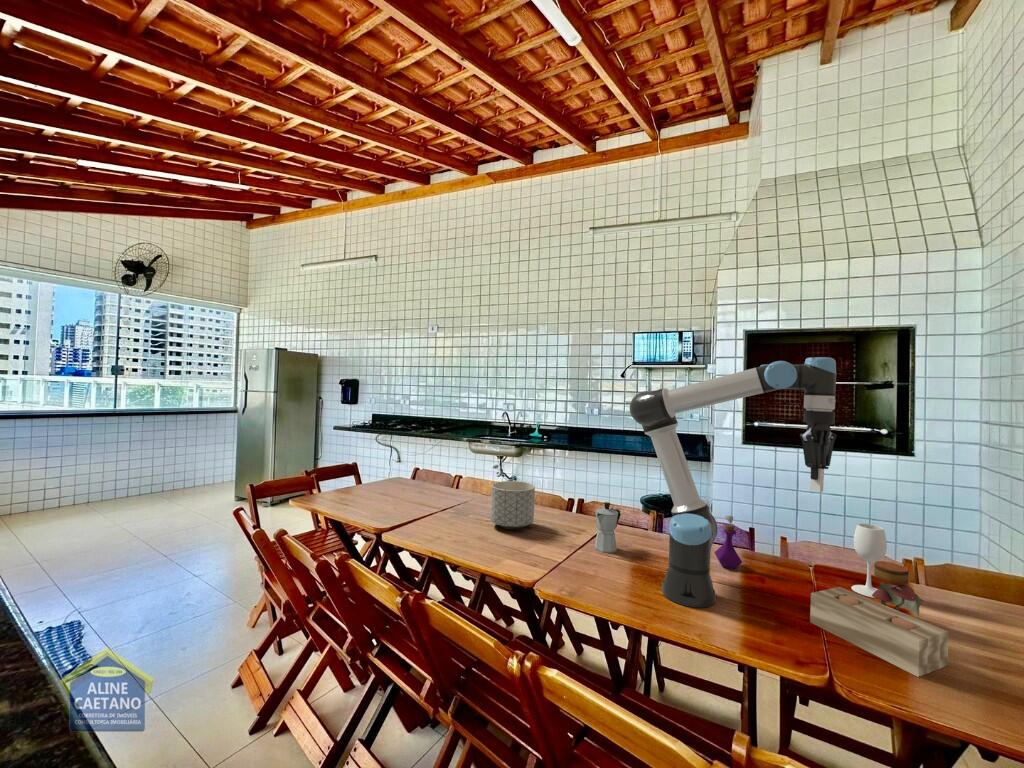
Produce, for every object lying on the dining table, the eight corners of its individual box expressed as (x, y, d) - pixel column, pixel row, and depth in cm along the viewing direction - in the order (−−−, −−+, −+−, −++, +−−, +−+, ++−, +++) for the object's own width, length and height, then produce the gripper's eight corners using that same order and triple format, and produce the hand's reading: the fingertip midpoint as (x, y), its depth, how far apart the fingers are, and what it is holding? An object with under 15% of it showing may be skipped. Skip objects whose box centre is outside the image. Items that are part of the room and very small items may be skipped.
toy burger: (908, 636, 115) (909, 579, 115) (854, 612, 126) (856, 560, 126) (932, 627, 119) (933, 572, 119) (878, 605, 131) (879, 555, 131)
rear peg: (851, 630, 114) (852, 603, 114) (835, 622, 118) (835, 596, 118) (860, 627, 116) (861, 601, 116) (844, 620, 120) (845, 594, 120)
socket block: (918, 677, 98) (919, 641, 98) (810, 622, 120) (810, 593, 120) (947, 665, 103) (948, 631, 103) (838, 614, 125) (839, 586, 125)
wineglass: (878, 601, 134) (880, 532, 134) (845, 589, 142) (847, 524, 142) (891, 595, 138) (893, 528, 138) (859, 584, 146) (861, 521, 146)
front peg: (907, 657, 103) (907, 627, 103) (887, 647, 107) (888, 619, 107) (916, 654, 105) (917, 624, 105) (896, 644, 108) (897, 616, 108)
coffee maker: (604, 556, 163) (606, 507, 163) (586, 549, 170) (587, 502, 170) (628, 547, 173) (629, 501, 173) (609, 541, 179) (611, 497, 179)
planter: (507, 517, 207) (508, 479, 207) (541, 526, 196) (542, 485, 196) (481, 527, 192) (483, 485, 192) (517, 537, 180) (518, 493, 180)
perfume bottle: (742, 571, 153) (743, 519, 153) (719, 569, 154) (720, 518, 154) (735, 563, 160) (737, 513, 160) (713, 560, 162) (715, 512, 162)
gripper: (817, 410, 123) (815, 495, 122) (847, 411, 127) (844, 492, 127) (791, 409, 129) (789, 489, 129) (820, 409, 134) (818, 486, 134)
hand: (816, 490), depth 128 cm, fingers closed
